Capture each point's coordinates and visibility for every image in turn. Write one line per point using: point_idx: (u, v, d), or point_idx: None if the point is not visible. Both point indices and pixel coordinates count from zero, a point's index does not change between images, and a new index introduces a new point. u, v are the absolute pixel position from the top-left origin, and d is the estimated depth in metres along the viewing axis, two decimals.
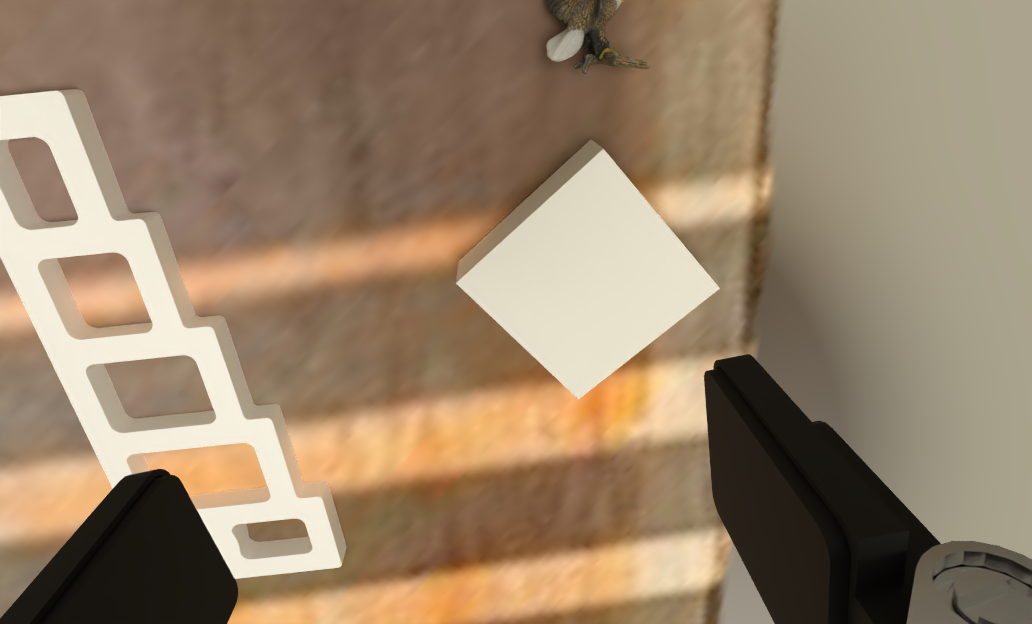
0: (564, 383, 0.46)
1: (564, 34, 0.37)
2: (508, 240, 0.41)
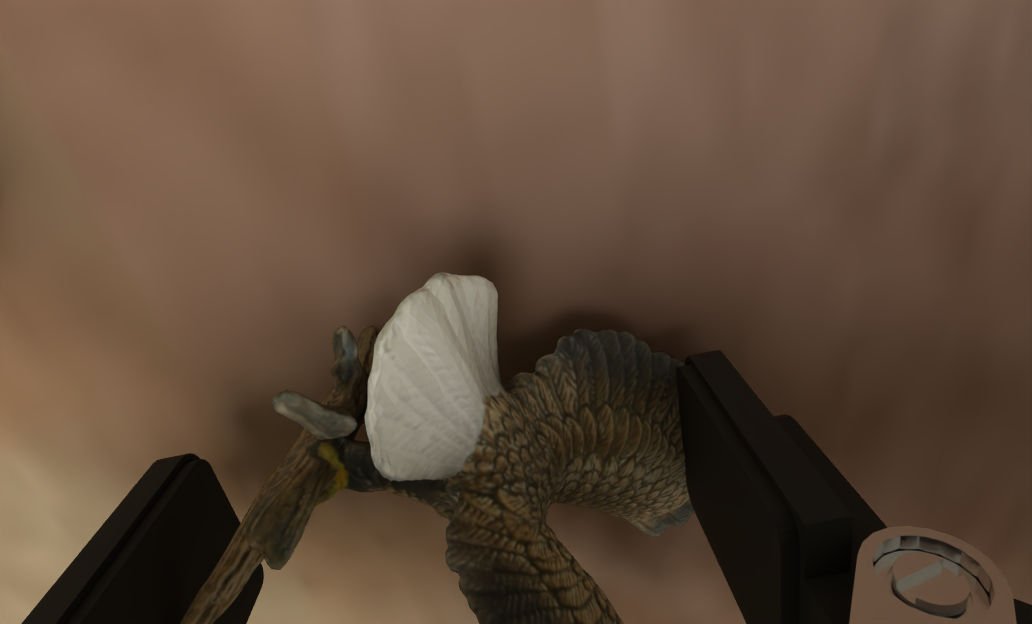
0: None
1: (484, 380, 0.08)
2: None
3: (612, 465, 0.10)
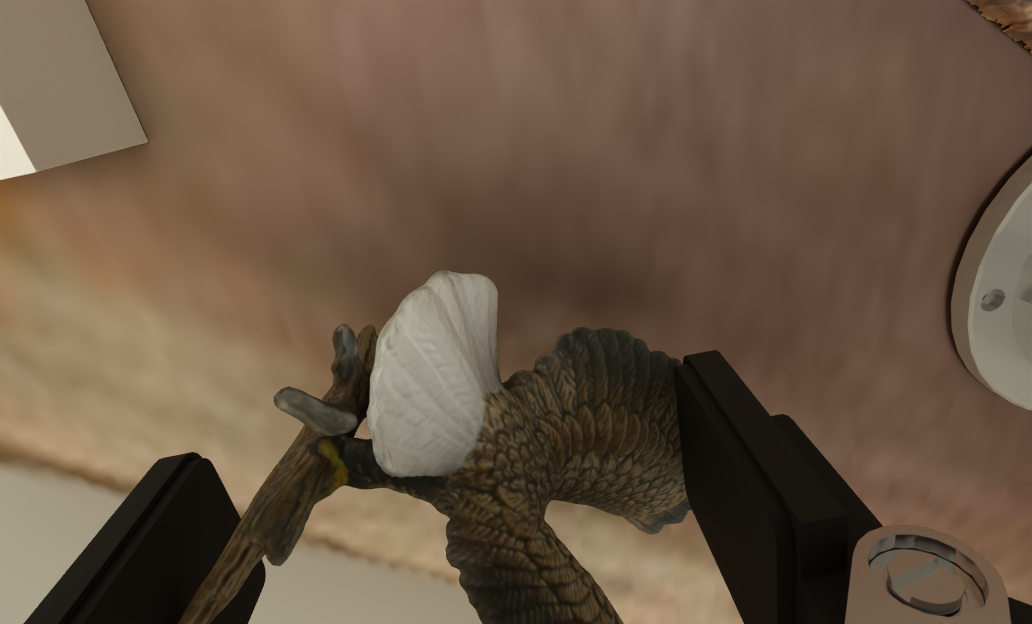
0: None
1: (484, 377, 0.08)
2: None
3: (610, 463, 0.10)
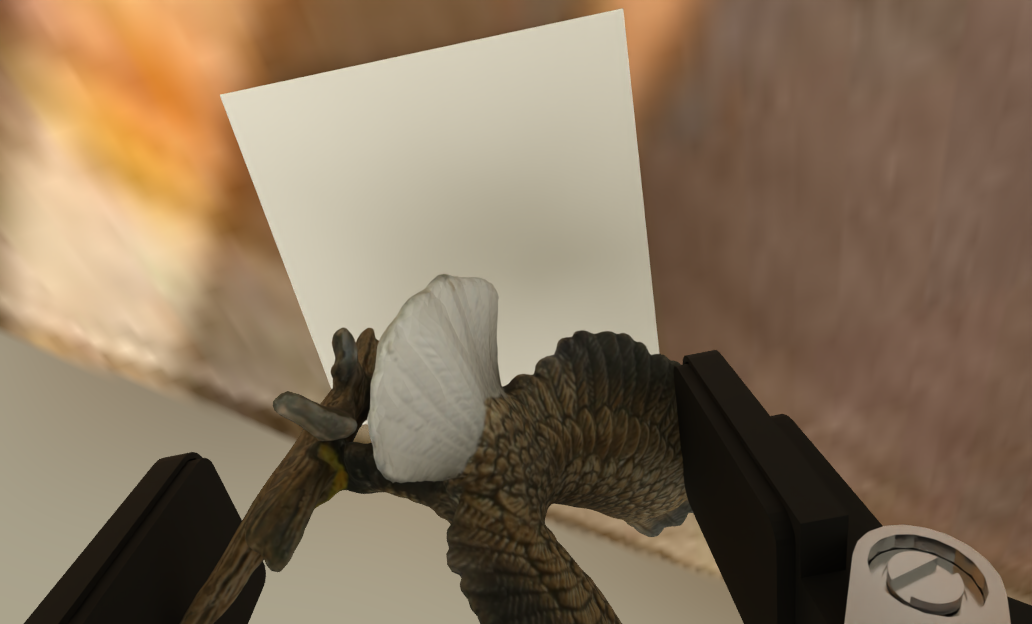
0: (275, 87, 0.20)
1: (485, 382, 0.08)
2: (630, 159, 0.21)
3: (611, 466, 0.10)
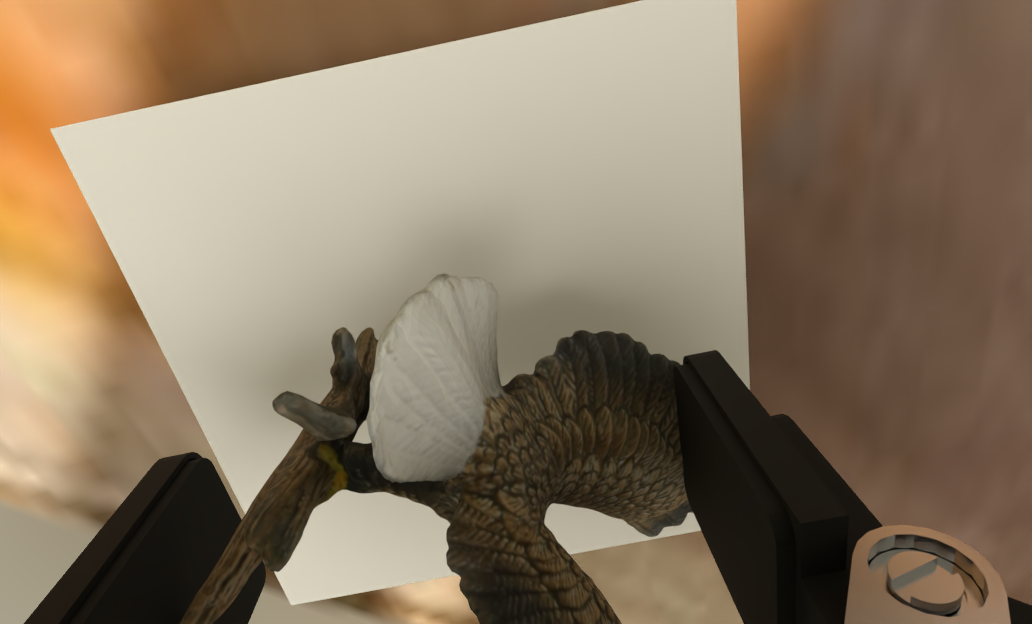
0: (144, 116, 0.12)
1: (484, 381, 0.08)
2: (731, 227, 0.13)
3: (611, 466, 0.10)
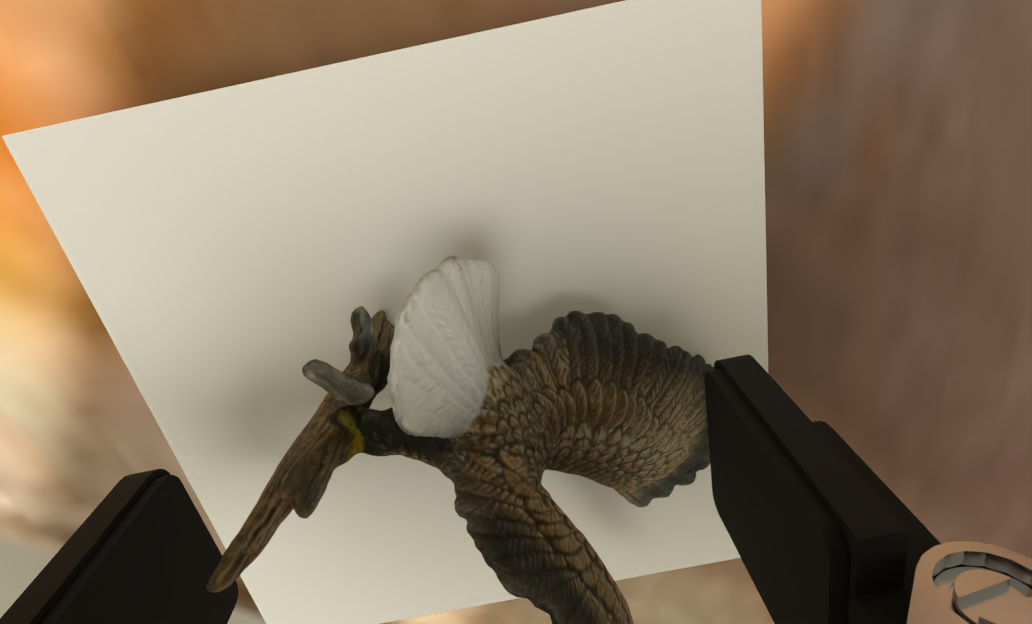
0: (106, 122, 0.11)
1: (488, 352, 0.09)
2: (752, 242, 0.12)
3: (601, 434, 0.11)
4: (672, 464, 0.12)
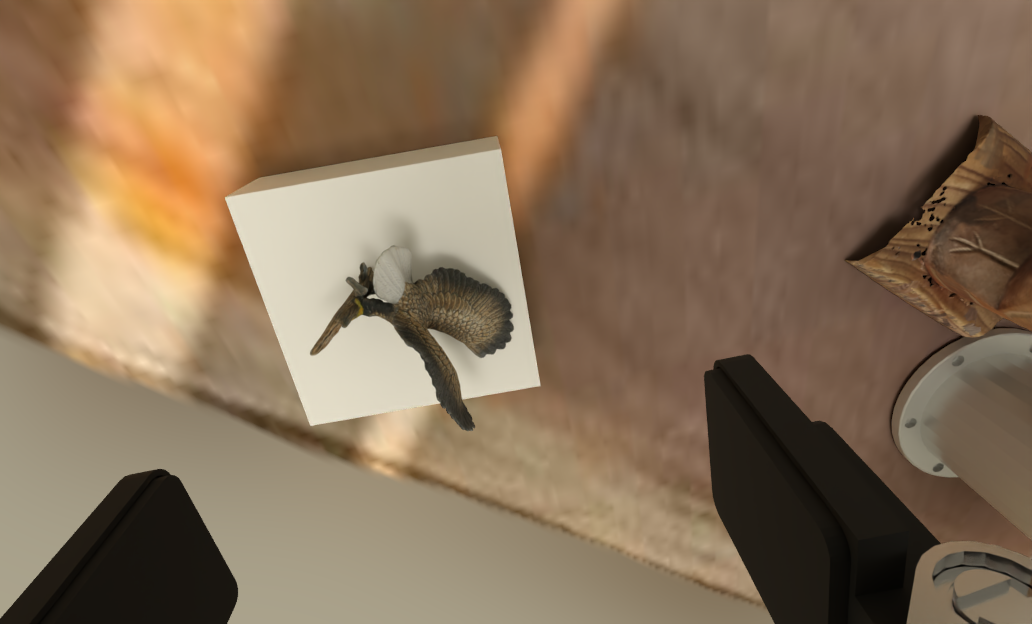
0: (263, 193, 0.29)
1: (405, 277, 0.28)
2: (511, 244, 0.31)
3: (450, 312, 0.29)
4: (485, 331, 0.31)
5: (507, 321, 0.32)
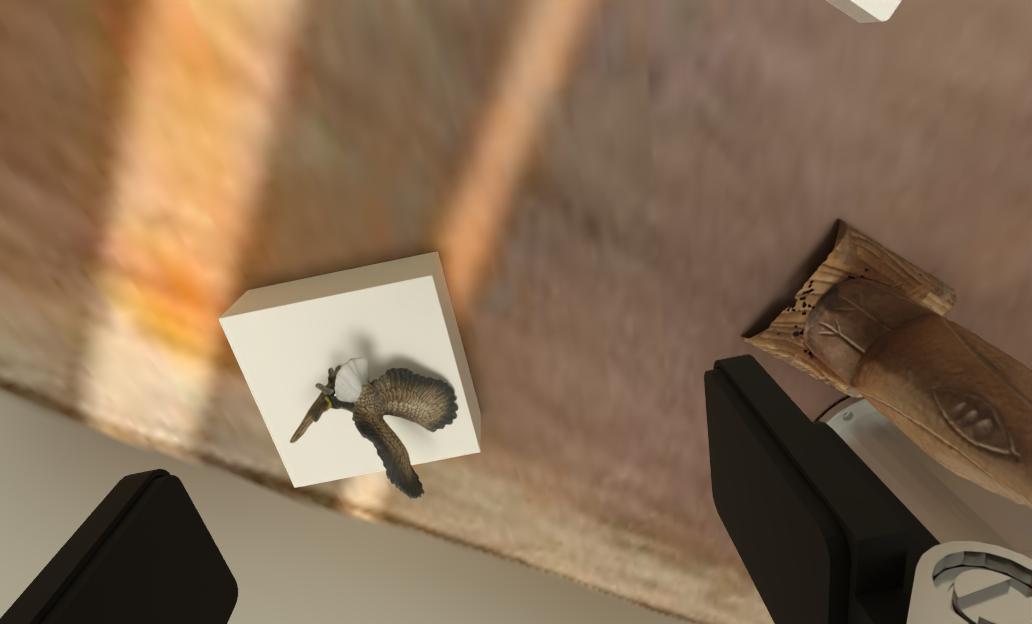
0: (248, 314, 0.37)
1: (362, 381, 0.35)
2: (446, 344, 0.38)
3: (401, 403, 0.37)
4: (432, 414, 0.39)
5: (452, 403, 0.40)
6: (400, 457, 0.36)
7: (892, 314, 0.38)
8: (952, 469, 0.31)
